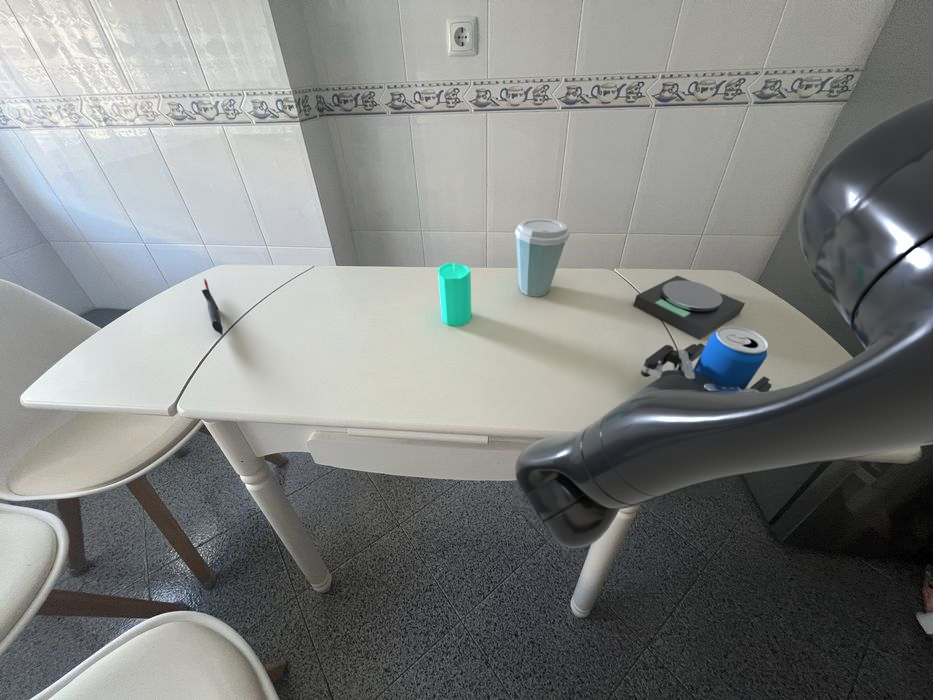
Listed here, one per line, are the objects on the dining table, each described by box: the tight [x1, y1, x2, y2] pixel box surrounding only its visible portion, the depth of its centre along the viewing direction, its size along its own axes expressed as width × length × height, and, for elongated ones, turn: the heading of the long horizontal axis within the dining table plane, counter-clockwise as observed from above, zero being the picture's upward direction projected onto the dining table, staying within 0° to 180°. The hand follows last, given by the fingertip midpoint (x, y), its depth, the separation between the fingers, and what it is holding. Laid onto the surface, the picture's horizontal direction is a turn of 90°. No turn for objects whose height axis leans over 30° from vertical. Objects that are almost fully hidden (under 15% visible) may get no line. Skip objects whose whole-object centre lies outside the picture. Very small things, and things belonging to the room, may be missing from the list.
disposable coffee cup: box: [514, 217, 570, 298], centre depth 76 cm, size 11×11×15 cm
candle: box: [437, 261, 472, 327], centre depth 69 cm, size 6×6×12 cm
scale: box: [632, 274, 746, 340], centre depth 72 cm, size 14×14×3 cm
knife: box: [201, 278, 224, 336], centre depth 76 cm, size 24×2×5 cm, turn 35°
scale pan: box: [662, 280, 723, 311], centre depth 71 cm, size 10×10×1 cm
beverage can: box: [693, 325, 769, 389], centre depth 50 cm, size 6×6×12 cm
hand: (730, 364), depth 51 cm, fingers open, 8 cm apart
